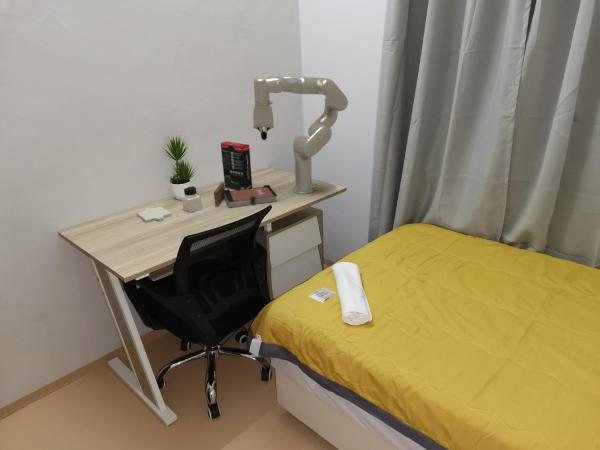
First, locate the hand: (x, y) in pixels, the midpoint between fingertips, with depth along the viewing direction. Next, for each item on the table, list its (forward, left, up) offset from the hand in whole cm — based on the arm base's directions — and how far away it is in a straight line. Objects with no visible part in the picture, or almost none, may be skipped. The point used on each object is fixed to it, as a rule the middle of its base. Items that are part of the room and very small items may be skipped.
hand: (264, 139), depth 211 cm
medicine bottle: (+37, +19, -32) cm, 53 cm away
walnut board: (+25, +7, -32) cm, 41 cm away
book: (+9, +5, -33) cm, 34 cm away
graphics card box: (+19, -14, -32) cm, 40 cm away
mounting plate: (+54, +28, -33) cm, 69 cm away
